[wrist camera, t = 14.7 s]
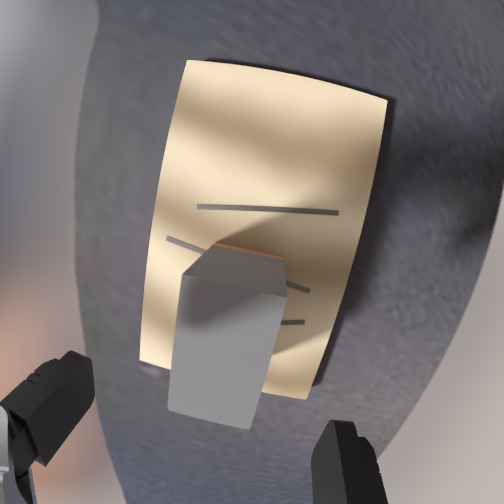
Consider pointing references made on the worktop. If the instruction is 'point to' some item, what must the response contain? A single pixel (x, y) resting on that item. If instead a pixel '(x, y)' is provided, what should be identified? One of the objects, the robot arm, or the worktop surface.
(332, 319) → the board
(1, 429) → the robot arm
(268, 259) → the block
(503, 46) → the worktop surface
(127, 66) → the worktop surface
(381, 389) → the worktop surface
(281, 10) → the worktop surface
